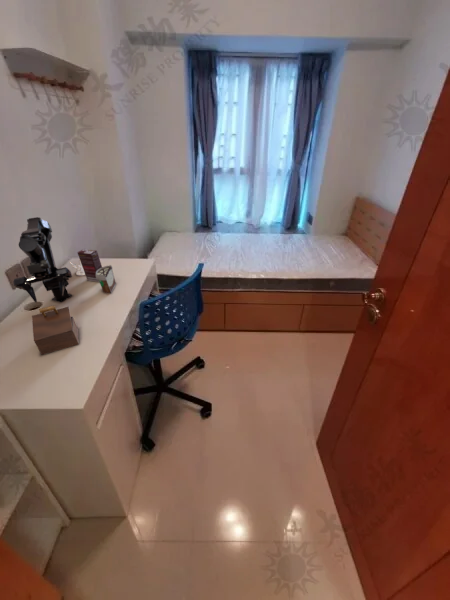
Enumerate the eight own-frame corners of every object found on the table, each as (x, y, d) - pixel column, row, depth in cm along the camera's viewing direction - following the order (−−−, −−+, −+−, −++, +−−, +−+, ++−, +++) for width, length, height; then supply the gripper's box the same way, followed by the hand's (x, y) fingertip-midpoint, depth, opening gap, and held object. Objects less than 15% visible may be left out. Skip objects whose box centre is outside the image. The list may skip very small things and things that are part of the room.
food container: (104, 283, 144) (98, 265, 138) (116, 282, 144) (111, 264, 139) (97, 296, 134) (91, 277, 128) (110, 294, 134) (104, 276, 128)
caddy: (43, 338, 109) (37, 325, 106) (78, 328, 113) (72, 316, 110) (41, 355, 101) (34, 342, 98) (78, 344, 105) (73, 331, 102)
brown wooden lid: (32, 316, 103) (27, 309, 100) (69, 307, 108) (65, 300, 104) (34, 341, 98) (28, 334, 94) (73, 330, 102) (68, 324, 98)
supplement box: (106, 277, 149) (97, 250, 140) (100, 282, 145) (90, 254, 136) (93, 276, 151) (83, 248, 143) (86, 280, 147) (76, 252, 139)
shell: (95, 272, 154) (90, 257, 149) (71, 277, 151) (65, 261, 145) (95, 266, 161) (90, 251, 156) (73, 270, 158) (67, 255, 152)
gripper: (1, 260, 99) (11, 301, 97) (58, 248, 105) (69, 286, 103) (15, 269, 110) (25, 307, 108) (67, 258, 115) (77, 294, 113)
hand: (49, 298), depth 108 cm, fingers open, 9 cm apart
